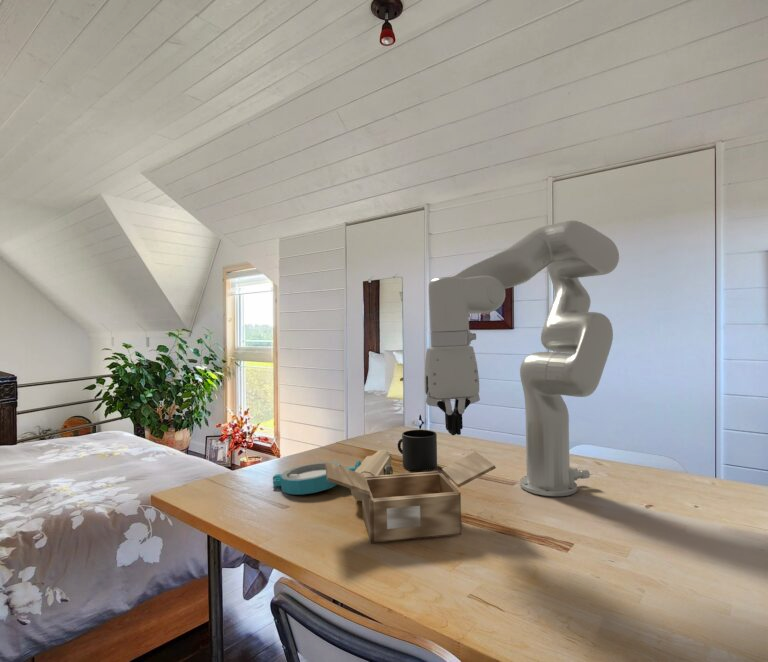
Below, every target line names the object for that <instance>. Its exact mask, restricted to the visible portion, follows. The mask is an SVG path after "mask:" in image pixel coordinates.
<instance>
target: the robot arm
mask: <svg viewBox="0 0 768 662" xmlns="http://www.w3.org/2000/svg"><path fill="white" fill-rule="evenodd" d="M619 262H620V254H619V248H618V246H617V245H616V244H615V242H614V241H613V240H612V239H611V238H610V237H608V236H606V235H605V234H603V233H602V232H600V231H598V230H597V229H595V227H592V226H591V225H588V224H586V223H583V222H582V221H578V220H567V221H562V222H557V223H553V224H549V225H543V226H540V227H538V228H536V229H534V230H532V231H531V232H529V233H527V234H526V235H525V236H523V237H522V238H521V239H519V240H518V241H516V242H515V243H513V244H512V245H510V246H509V247H507V248H505V249H504V250H501V251H499V252H497V253H494V254H493V255H491V256H489V257H487V258H485V259H483V260H481V261H479V262H477V263H474V264H472V265H469V266H468V267H467V268H465V269H463V270H461V271H459V272H458V273H457V274H455V275H454V276H442V277H435V278H433V279H431V280H430V281H429V283H428V307H429V308H428V309H429V325H430V347H428V348H427V349H426V353H425V360H424V361H425V364H424V393H425V395H426V399H425V404H426V405H428V406H431V407H435V408H438V409H440V410H441V411H442V412H443V413H444V416H445V417H444V418H445V421H444V422H445V429H446V431H448V433H449V434H450V435H452V436H456V435H458V436H461V433H462V432H461V431H462V430H463V428H464V427H463V414H464V413H465V410H466V409H467V408H468V407H469V406H470V405H473V404H475V403H478V402H480V400H481V398H480V395H479V393H480V376H479V375H480V374H479V370H478V363H477V358H476V353H475V350H474V346H471V344H472V343H471V342H472V341H476V339H477V334H476V333H473V332H471V330H470V322H469V321H470V319H469V315H470V314H473V315H474V314H476V315H477V314H488V313H491V312H494V311H496V310H498V309H499V308H500V307H501V306H502V305H503V303H504V302H505V298H506V289H509V288H510V289H511V288H514V287H517V286H520V285H522V284H524V283H527V282H528V281H530V280H531V279H532V278H534V277H535V276H536V275H537V274H538V273H540V272H541V271H542V270H544V269H545V268H546V269H547V272H548V275H549V277H550V280H551V283H552V287H553V289H554V291H553V292H554V296H553V300H552V304H551V306H550V308H549V311H548V314H547V317H546V319H545V321H544V325H543V327H542V329H541V332H540V333H541V334H540V342H541V345H542V346H543V347H544V348H545V349H546V350H548V351H538V352H533V353H531V354H528V355H527V356H526V357H524V358H523V360H522V362H521V364H520V368H519V375H520V382H521V386H522V391H523V397H524V405H525V412H524V413H525V453H526V455H525V456H526V457H525V458H526V459H525V460H526V461H525V462H526V475H525V476H523V477H521V478H520V481H519V486H520V487H521V488H522V489H523V490H525V491H526V492H529V493H530V494H535V495H538V496H539V495H540V496H543V497H544V496H545V497H565V496H571V495H573V494H575V493H576V492H577V491H578V483H576V481H578V479H580V480H581V479H583V480H585V479H589V478H590V471H589V470H588V469H581V470H578V468H577V467H575V468H572V467H570V465H571V464H570V426H569V425H570V418H569V417H570V415H569V410H568V407H567V404H566V402H565V400H564V398H563V396H567V397H574V398H575V397H577V398H585V397H589V396H591V395H592V394H594V393H595V391H596V390H597V388H598V386H599V384H600V381H601V378H602V375H603V373H604V370H605V369H604V368H605V366H606V363H607V361H608V357H609V355H610V351H611V347H612V344H613V339H614V332H613V324H612V322H611V320H610V319H609V318H608V316H606V315H605V314H603V313H601V312H595V311H589V310H590V308H591V297H590V294H589V293H588V291H587V289H586V288H585V287H584V286H583V284H582V283H581V281H580V279H579V278H585V277H586V278H587V277H594V276H595V277H596V276H597V277H598V276H604V275H608V274H611V272H614V270H615V269H616V268H617V266H618V264H619ZM451 400H454V404H453V405H454V406H453V405H452V401H451Z"/></svg>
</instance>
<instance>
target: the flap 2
mask: <svg viewBox="0 0 768 662" xmlns="http://www.w3.org/2000/svg"><path fill="white" fill-rule="evenodd" d="M495 469H497V467H496V464H494V463H492V462H491V461H489V460H488V459H487V458H486V457H484V456H483V455H482V454H480V453H479V452H477V451H473V452H471V453H470V454H468V455H465V456H464V457H462V458H460V459H458V460H456V461H454V462H453V463H450V464H448V465H446V466H444V467H443V468H441V470H442V473H444V475H446V476H447V477H448V478H449V479H450V480H451V481H452V482H453V484H455V485H456V487H457V489H458V488H461V487H463V486H464V485H467V484H469V483H470V482H473V481H475V480H476V479H477V478H480V477H482V476H483V475H486V474H487V473H489V472H491V471H493V470H495Z"/></svg>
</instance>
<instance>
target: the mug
mask: <svg viewBox="0 0 768 662" xmlns="http://www.w3.org/2000/svg"><path fill="white" fill-rule="evenodd" d="M437 439H438V438H437V433H436V431H433V430H428V429H411V430H405V431H404V432H402V434H401V438H400V439H399V440H398V442H397V449H398V451H399V453H400V454H401V455H402V467H403V468H404V467H405V468H404V469H406V468H407V469H406V470H408V469H410V470H409V471H412V470H416V471H415V472H423V471H422V470H428V471H432V470H434V468H435V469H436V468H437V467H438V440H437ZM401 445H402V446H401ZM431 469H432V470H431Z"/></svg>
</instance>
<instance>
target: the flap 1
mask: <svg viewBox="0 0 768 662" xmlns="http://www.w3.org/2000/svg"><path fill="white" fill-rule="evenodd" d="M325 462H326V463H325V468H326V476H327V481H329V482H332V483H335V484H337V485H339V486H342V487H345V488H348V489H350V490H351V489H353V490H356V491H359V492H362V493H365V494H368V495H369V493H370V490H369V488H368V485H367V482H366V480H365V477H364V474H361V473H358V472H355V471H352V470H349V469H346V467H343V466H342V465H341V466H338V465H335V464H332V463H329V462H330V461H325Z"/></svg>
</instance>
